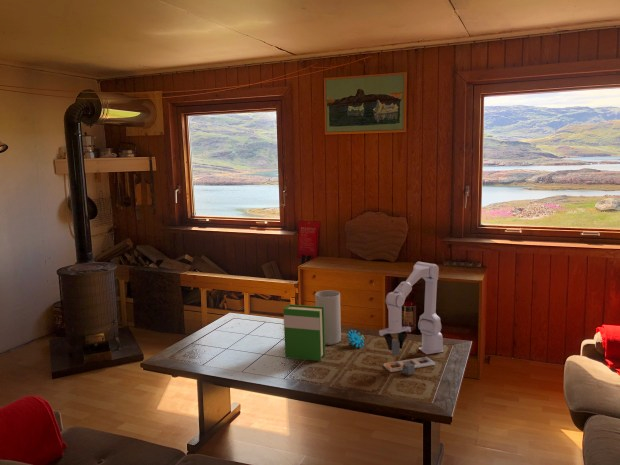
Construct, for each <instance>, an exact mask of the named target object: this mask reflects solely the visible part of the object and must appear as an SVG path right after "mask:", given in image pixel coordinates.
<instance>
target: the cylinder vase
mask: <svg viewBox="0 0 620 465" xmlns="http://www.w3.org/2000/svg"><path fill="white" fill-rule="evenodd" d="M314 296H315V306H320V307H324V326H325V346H326V345H331V346H332V345H336V344H338V343H340V342H341V340H342V328H341V327H342V324H341V323H342V322H341V319H342V317H341V292H339V291H338V290H333V289H332V290H330V289H329V290H328V289H327V290H320V291H317V292H315V294H314Z"/></svg>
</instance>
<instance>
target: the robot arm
mask: <svg viewBox="0 0 620 465" xmlns="http://www.w3.org/2000/svg"><path fill="white" fill-rule="evenodd" d="M412 268H413V269H412V272H411V273H410V274H409V276H408V277H407V279H406V280H405V281H401V282H400V283H399V284H398V285H397V287H395V289H394V290H393V291H391V292H388V293H387V294H386V298H385V303H386V307H387V309H388V314H387V315H388V327H387V328H386V327H385V328H383V329H380V330H379V331H378V335H379V336H381V337H384V340H385V342H386V345H387V349H388V350H389V351H391V350H392V339H394V337H393V336H392V334H393V335H394V334H397V339H399V341H400V350H402V349H403V347H404V343H405V340H406V338H407V337H408V333H411V332H412V330H411V329H412V327H411V326H403V324H402V323H403V322H402V320H403V319H402V318H403V317H402V315H403V314H402V312H403V311H402V310H403V309H402V308H403V307H402V306H404V304H405V300H406V299H407V296H408V295H409V294H410V293H411V292H412V290H413V285H415V284H416V283H417V282H418V281H419V280H420V279H421V278H422V279H423V280H424V281H425V284H424V285H425V286H424V287H425V290H424V309H423V310H424V312H423V313H422V314H421V315H419V320H418V323H417V327H418V330H420V333H421V347H418V348H417V349H418V350H420V351H421V352H422V353H424V354H425V355H431V354H438V353H443V352H444V338H443V334H442V333H441V330H442V323H441V317H440V316H439V315H437V312H436V310H437V290H438V289H437V288H438V280H439V274H440V273H439V272H440V271H439V270H440V269H439V268H440V267H439V265H437V264H436V263H429V262H422V261H417V262H416V263H415V264H414V265H413V267H412Z"/></svg>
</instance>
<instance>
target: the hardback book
mask: <svg viewBox="0 0 620 465" xmlns="http://www.w3.org/2000/svg"><path fill="white" fill-rule="evenodd" d="M283 328H284V330H283V331H284V351H285V352H284V354H285V355H284V356H285V358H288V359H296V360H298V359H299V360H308V361H315V362H321V361H322V357H324V356H326V345H325V326H324V307H320V306H316V305H303V304H287V305H286V306H285V307H284V308H283Z"/></svg>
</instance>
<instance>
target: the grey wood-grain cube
mask: <svg viewBox="0 0 620 465" xmlns="http://www.w3.org/2000/svg"><path fill="white" fill-rule="evenodd" d="M402 373H403V374H405V376H412V375H414V374H415V368H414V364H413V363H409V362H408V363H405V364H403V370H402Z"/></svg>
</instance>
